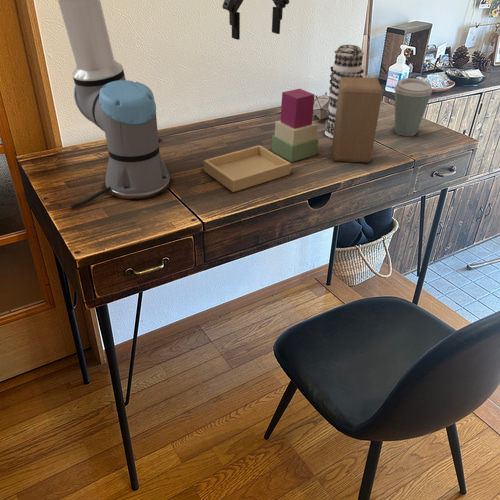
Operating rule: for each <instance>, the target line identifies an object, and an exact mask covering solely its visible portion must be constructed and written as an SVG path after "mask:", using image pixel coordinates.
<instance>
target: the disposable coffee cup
mask: <svg viewBox="0 0 500 500" xmlns="http://www.w3.org/2000/svg"><path fill="white" fill-rule="evenodd" d="M393 90H394V132H395V134H397V135H400V136H403V137H413V136H415V135H416V134H417V133H418V131H419V128H420V125H421V123H422V120H423V118H424V115H425V111H426V109H427V107H428V103H429V101H430V98H431V95H432V93H433V88H432V86H431V85H430V82H427V81H425V80H423V79H419V78H414V77H413V78H411V77H410V78H409V77H408V78H402V79H399V80H398V81H397V83H396V85H395V86H394V89H393Z"/></svg>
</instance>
